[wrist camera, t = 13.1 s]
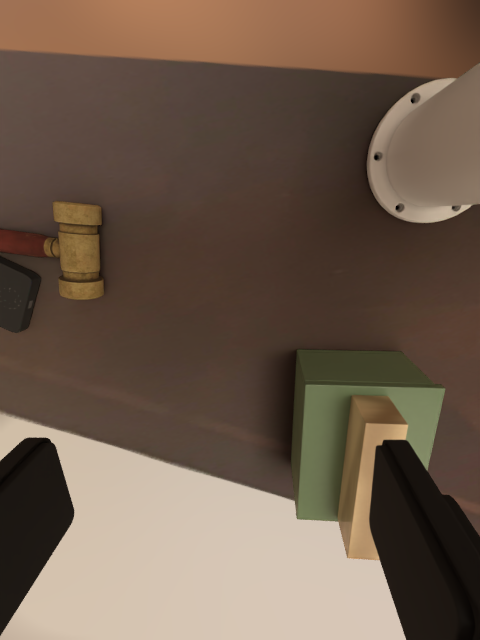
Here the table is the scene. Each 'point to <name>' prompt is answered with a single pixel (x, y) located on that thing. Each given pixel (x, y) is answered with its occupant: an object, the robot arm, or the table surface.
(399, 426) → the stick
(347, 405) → the box lid
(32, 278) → the smart home device
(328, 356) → the box
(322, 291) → the table surface
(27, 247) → the gavel
